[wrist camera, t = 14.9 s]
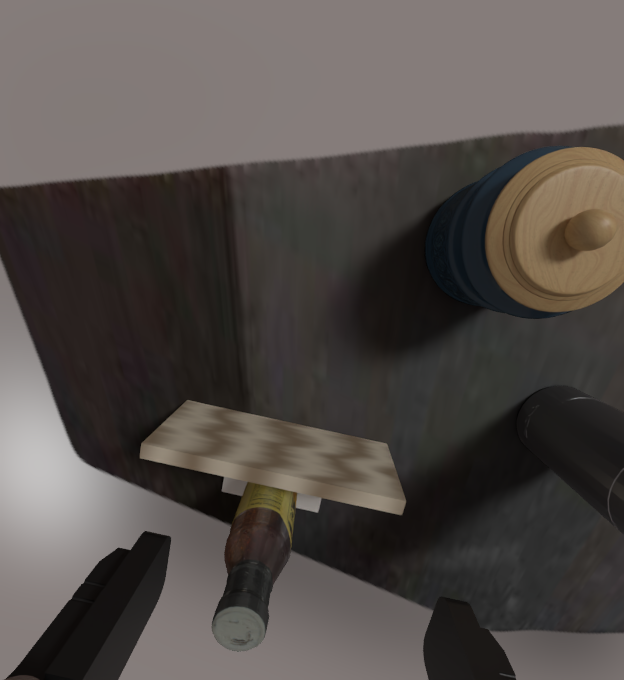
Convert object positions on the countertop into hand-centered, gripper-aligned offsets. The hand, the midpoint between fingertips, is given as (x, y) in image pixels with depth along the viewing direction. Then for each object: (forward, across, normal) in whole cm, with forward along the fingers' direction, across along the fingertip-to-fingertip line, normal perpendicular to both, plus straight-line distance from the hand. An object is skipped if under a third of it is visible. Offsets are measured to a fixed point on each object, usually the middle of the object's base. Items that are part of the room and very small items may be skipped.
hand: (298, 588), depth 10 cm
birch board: (+32, +2, +12) cm, 34 cm away
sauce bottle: (+32, +2, +18) cm, 36 cm away
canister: (+32, -15, -15) cm, 39 cm away
